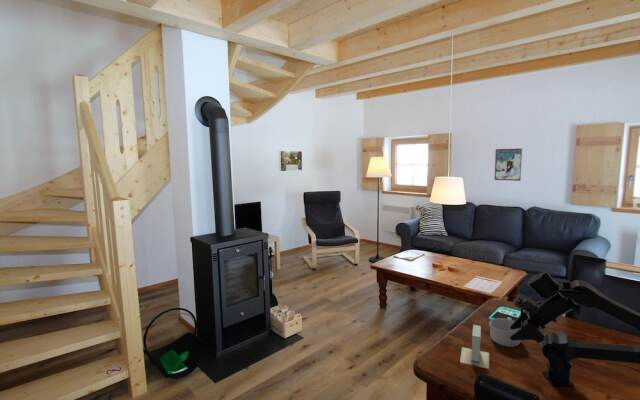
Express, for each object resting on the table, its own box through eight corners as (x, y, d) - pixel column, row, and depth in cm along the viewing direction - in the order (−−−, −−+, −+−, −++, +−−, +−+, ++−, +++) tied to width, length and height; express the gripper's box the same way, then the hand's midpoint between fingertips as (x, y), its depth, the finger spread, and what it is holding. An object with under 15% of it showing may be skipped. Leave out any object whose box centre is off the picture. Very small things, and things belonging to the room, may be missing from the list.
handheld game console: (524, 314, 155) (524, 312, 154) (513, 328, 143) (513, 325, 143) (500, 308, 162) (500, 305, 161) (488, 320, 150) (488, 317, 150)
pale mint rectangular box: (479, 352, 124) (481, 326, 122) (479, 364, 117) (480, 337, 115) (472, 350, 125) (473, 324, 123) (471, 362, 118) (472, 335, 116)
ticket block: (488, 356, 124) (489, 352, 123) (488, 372, 115) (489, 368, 114) (461, 350, 127) (462, 347, 127) (459, 366, 119) (460, 362, 118)
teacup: (513, 355, 124) (514, 334, 123) (483, 342, 132) (484, 323, 131) (528, 341, 133) (529, 321, 132) (499, 330, 141) (500, 312, 140)
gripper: (530, 278, 119) (493, 303, 125) (533, 299, 103) (490, 326, 109) (557, 304, 116) (517, 328, 123) (563, 330, 100) (518, 355, 107)
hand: (510, 333), depth 115 cm, fingers open, 7 cm apart
